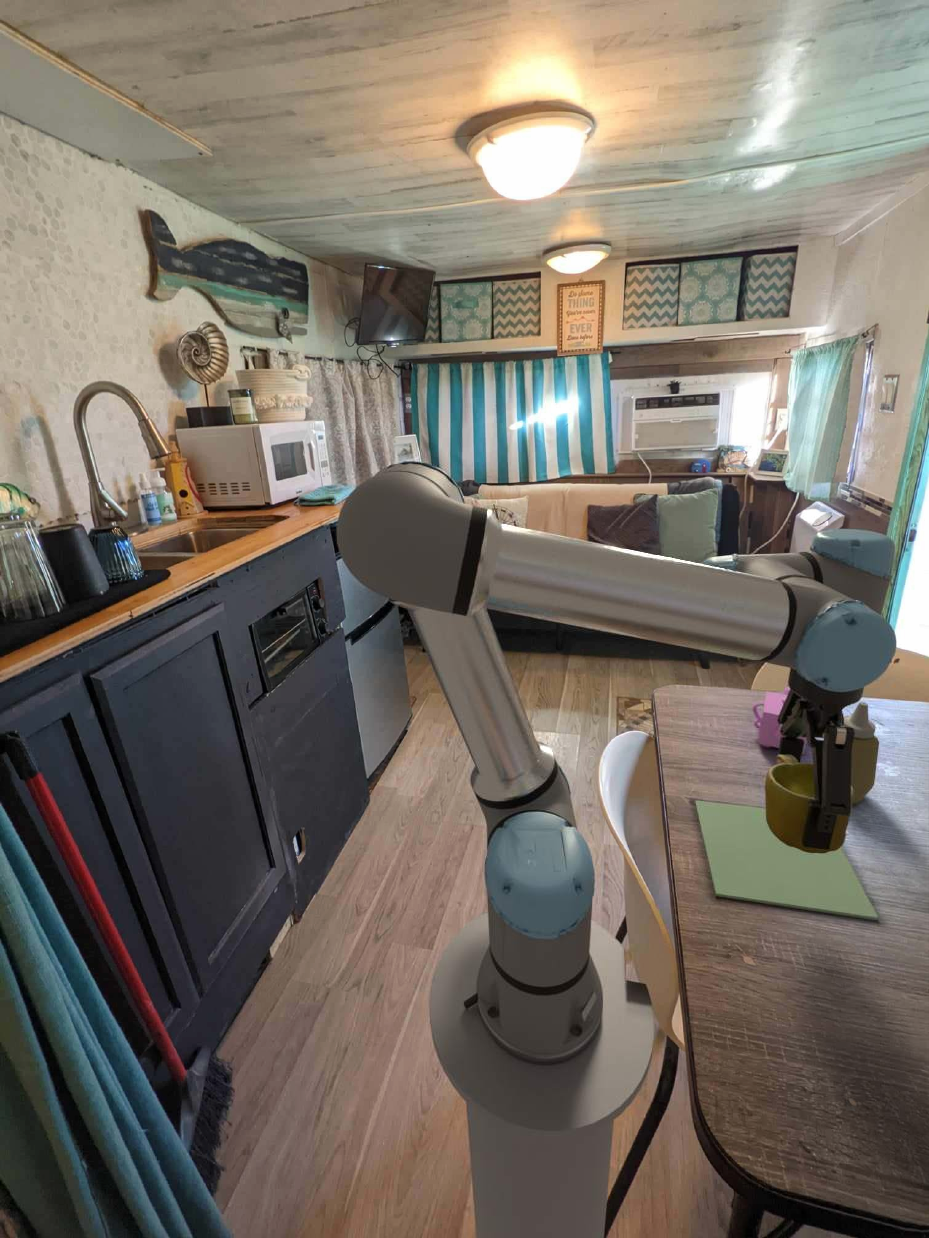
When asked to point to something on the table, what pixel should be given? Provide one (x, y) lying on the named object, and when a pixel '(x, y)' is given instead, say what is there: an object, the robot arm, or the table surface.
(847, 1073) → the table surface
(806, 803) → the mug
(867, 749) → the squeeze bottle
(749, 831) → the mat
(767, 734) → the teapot
